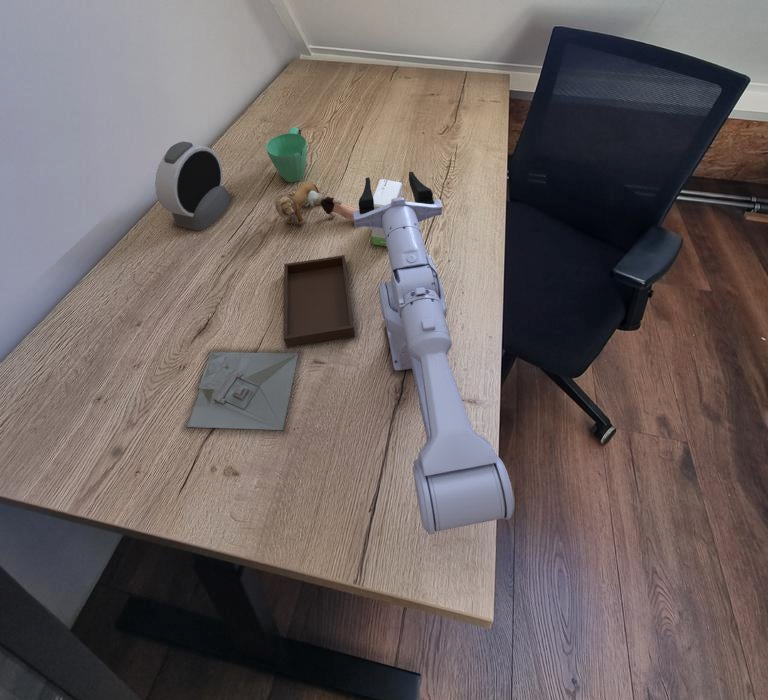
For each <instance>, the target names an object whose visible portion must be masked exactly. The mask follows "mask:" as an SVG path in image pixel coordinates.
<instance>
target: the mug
mask: <svg viewBox="0 0 768 700" xmlns="http://www.w3.org/2000/svg"><path fill="white" fill-rule="evenodd" d="M307 150H308V143H307V140H306V138H305V137H304V136H303V135H302V133H301V129H300V128H298V127H296V126H292V127H290V128H289V130H288V133H281V134H277V135H276V136H274V137H272V138H270V139H269V140H268V141H267V143H266V145H265V151H266V153H267V155H268V157H269V159H270V161H271V163H272V164H273V167H274V168H275V170H276V172H278V174H279V175H280V176H281V178H283V179H284V180H285V182H287V183H297V182H299V181H300V180H302V179H303V177H304V173H305V169H306V165H307V154H308V151H307Z"/></svg>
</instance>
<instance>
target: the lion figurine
mask: <svg viewBox="0 0 768 700" xmlns="http://www.w3.org/2000/svg"><path fill="white" fill-rule="evenodd" d="M310 191H315V192H317V193H320V194H322V193H321V192H320V190H319V188H318V186H317V184H315V183H314V182H304V183H302V184H301V185H300V186H299V187H298V189H296V190H295V192H293V193H287V194H284V195H281V196H280V197H278V198H277V200H276V201H275V204H274V207H275V211H276V212H277V214H278V215H279V217H281V218H283V219H286V218H287V224H292V223H293V222H294V216H295V217H296V218H297V219H296V220H297V224H298V225H300V226H301V225H303V224H304V220H303V217H302V213H301V207H304V208H306V207H308V206H309V205H310V203H309V201H308V194H309V192H310Z"/></svg>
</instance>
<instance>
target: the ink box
mask: <svg viewBox="0 0 768 700" xmlns="http://www.w3.org/2000/svg"><path fill="white" fill-rule="evenodd" d="M372 196H373V199H374V210H375V209H378V208H380V207H383V206H385V205H388V204H390V203H391V200H392V199H394V198H400V197H403V182H402V181H397V180H392V179H385V178H381V179H379V182H378V184H377V186H376V189H375V191H374V193H373V194H372ZM371 239H372V240H371V242H372V245H375V246H382V247H387V245H386V240H385V235H384V230H383V228H373V227H371Z"/></svg>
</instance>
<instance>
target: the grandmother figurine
mask: <svg viewBox="0 0 768 700" xmlns="http://www.w3.org/2000/svg"><path fill="white" fill-rule="evenodd" d="M320 193H321V192H319V193H317V192H315V191H310V192H309V194H308V201H309V205H310V206H311V207H315V206H317V205H318V206H319V205H320V206H321V207H322V209H323V211H324V212H325V214H326V215H329V216H330V217H332V218H334V217H336V214H338V215H339V216H341V217H343V218H346V219H347V220H349V221H351V222H354V218H353V211H357V210H359V208H355V207H352V206H350V205H347V204H346V205H345V204H343V202H342V200H340V199H338V198H335V197H330V196H326V197H324V195H323V194H322V193H321V194H320Z"/></svg>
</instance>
